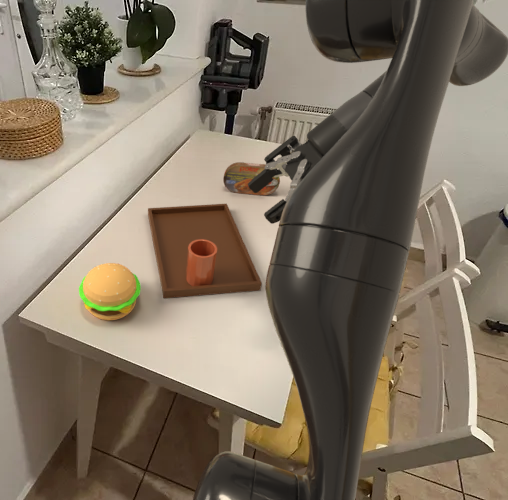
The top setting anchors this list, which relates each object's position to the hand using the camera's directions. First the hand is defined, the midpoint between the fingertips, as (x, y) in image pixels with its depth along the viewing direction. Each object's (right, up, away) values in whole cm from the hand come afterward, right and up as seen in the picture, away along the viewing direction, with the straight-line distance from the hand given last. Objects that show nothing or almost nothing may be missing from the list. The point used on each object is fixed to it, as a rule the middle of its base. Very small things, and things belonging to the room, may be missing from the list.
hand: (259, 203), depth 68 cm
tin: (+9, +9, +52) cm, 54 cm away
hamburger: (-25, -18, +19) cm, 37 cm away
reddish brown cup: (-7, -13, +24) cm, 28 cm away
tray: (-7, -7, +33) cm, 34 cm away
